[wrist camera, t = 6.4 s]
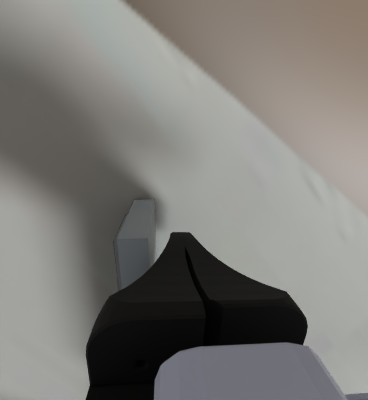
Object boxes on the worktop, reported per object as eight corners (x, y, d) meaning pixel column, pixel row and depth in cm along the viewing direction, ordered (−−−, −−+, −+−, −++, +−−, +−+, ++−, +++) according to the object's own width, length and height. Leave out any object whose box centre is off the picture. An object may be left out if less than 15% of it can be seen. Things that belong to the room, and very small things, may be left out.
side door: (161, 384, 18) (160, 468, 14) (143, 385, 18) (135, 471, 13) (154, 199, 13) (148, 237, 8) (127, 199, 12) (106, 239, 8)
